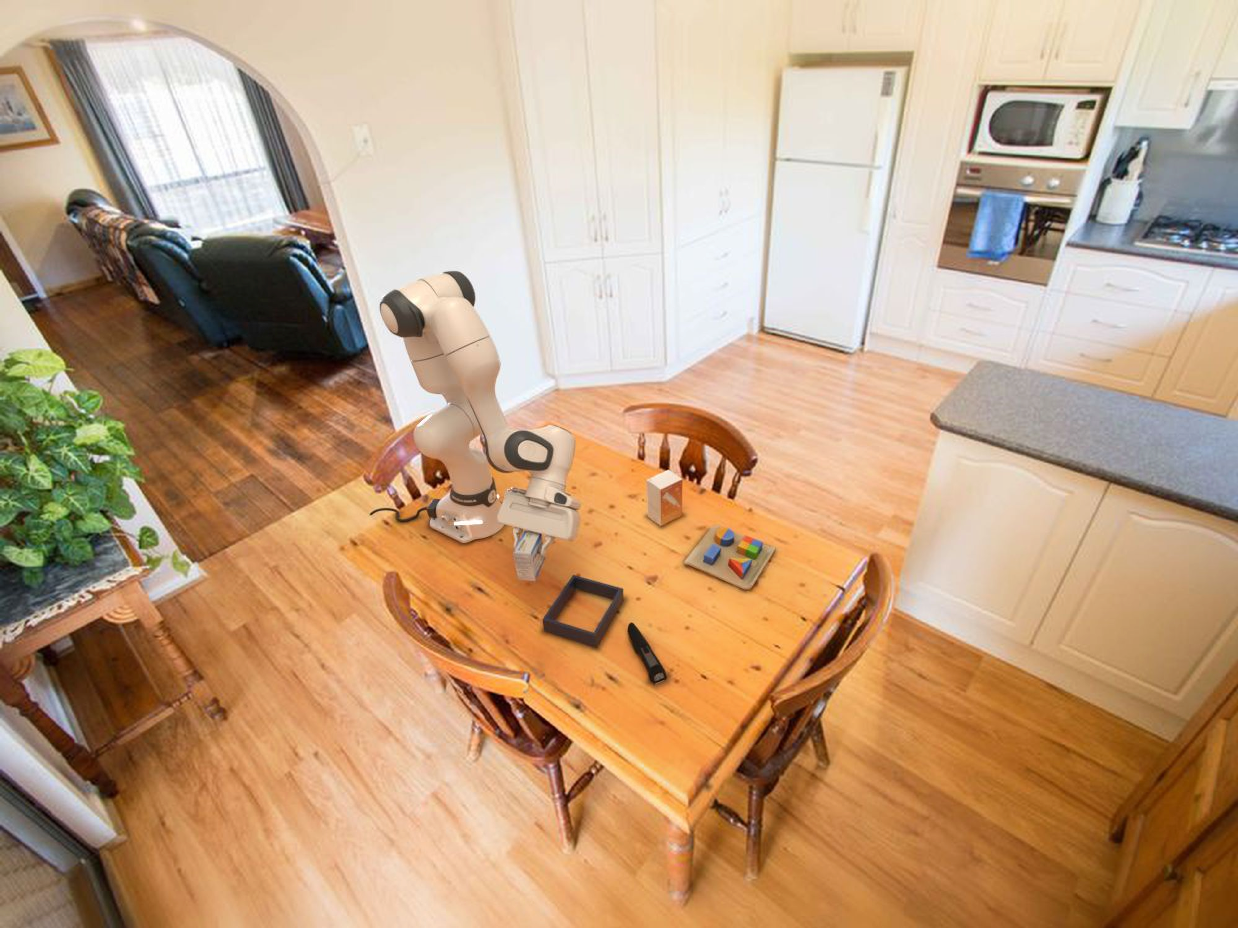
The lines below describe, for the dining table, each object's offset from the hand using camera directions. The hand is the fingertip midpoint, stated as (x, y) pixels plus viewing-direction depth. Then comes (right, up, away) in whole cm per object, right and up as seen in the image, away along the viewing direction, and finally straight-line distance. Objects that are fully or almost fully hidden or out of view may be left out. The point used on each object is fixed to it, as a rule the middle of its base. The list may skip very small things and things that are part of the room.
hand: (529, 551), depth 142 cm
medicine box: (0, -5, +3) cm, 6 cm away
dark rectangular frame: (+13, -16, +4) cm, 21 cm away
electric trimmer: (+27, -22, -7) cm, 36 cm away
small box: (+34, +5, +33) cm, 48 cm away
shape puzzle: (+50, -5, +17) cm, 53 cm away
